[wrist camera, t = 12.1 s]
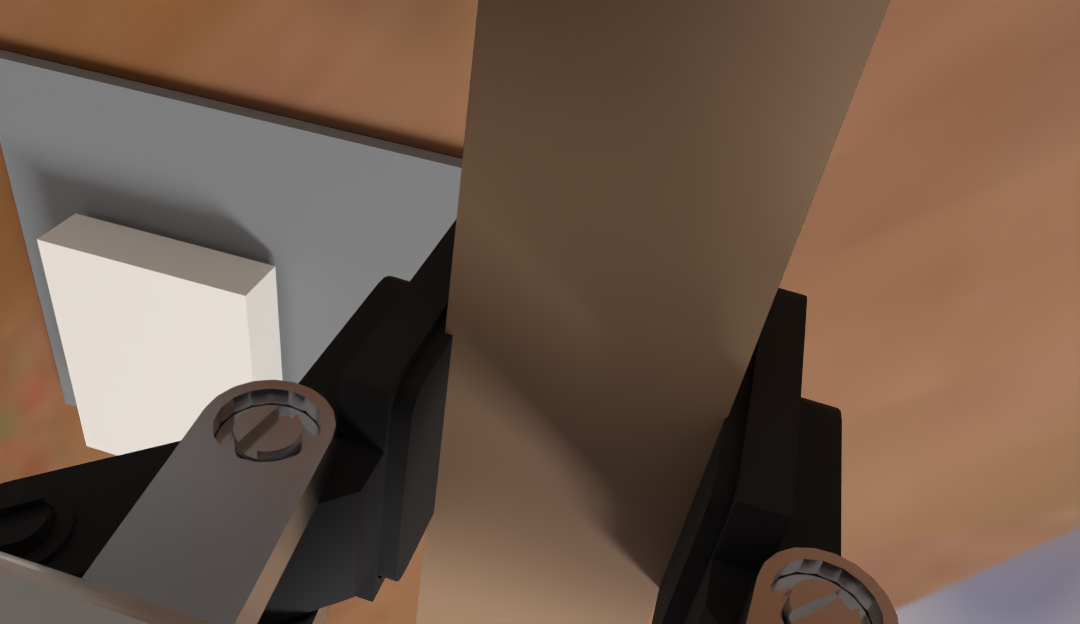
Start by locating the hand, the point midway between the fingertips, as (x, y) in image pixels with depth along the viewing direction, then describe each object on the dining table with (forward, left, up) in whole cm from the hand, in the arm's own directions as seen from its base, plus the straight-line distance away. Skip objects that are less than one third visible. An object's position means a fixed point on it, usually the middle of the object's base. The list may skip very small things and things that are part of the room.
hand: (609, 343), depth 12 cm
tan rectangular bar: (0, 0, -1) cm, 1 cm away
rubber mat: (+14, -15, -15) cm, 26 cm away
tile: (+11, -17, -13) cm, 25 cm away
